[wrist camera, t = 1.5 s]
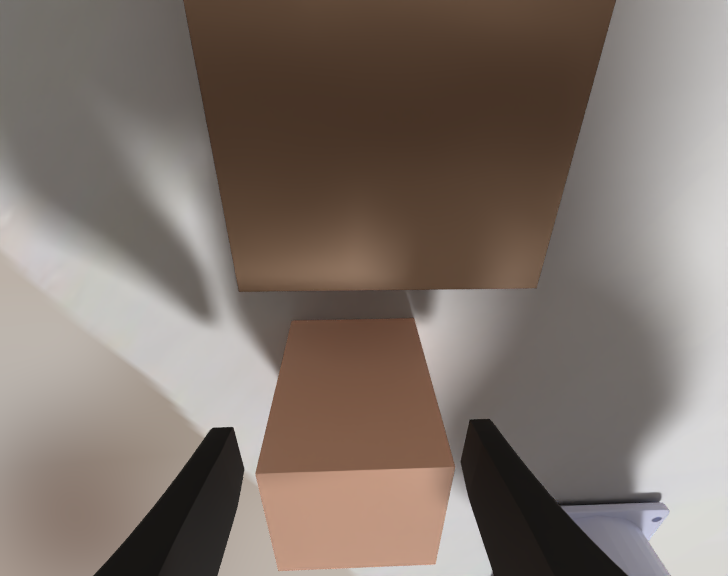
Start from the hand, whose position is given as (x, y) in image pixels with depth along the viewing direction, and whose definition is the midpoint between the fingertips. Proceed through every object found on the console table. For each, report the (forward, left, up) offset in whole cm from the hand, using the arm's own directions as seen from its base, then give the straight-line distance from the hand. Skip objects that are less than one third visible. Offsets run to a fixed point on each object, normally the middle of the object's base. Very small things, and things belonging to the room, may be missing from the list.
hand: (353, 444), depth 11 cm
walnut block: (+9, -1, -4) cm, 10 cm away
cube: (0, 0, -4) cm, 4 cm away
